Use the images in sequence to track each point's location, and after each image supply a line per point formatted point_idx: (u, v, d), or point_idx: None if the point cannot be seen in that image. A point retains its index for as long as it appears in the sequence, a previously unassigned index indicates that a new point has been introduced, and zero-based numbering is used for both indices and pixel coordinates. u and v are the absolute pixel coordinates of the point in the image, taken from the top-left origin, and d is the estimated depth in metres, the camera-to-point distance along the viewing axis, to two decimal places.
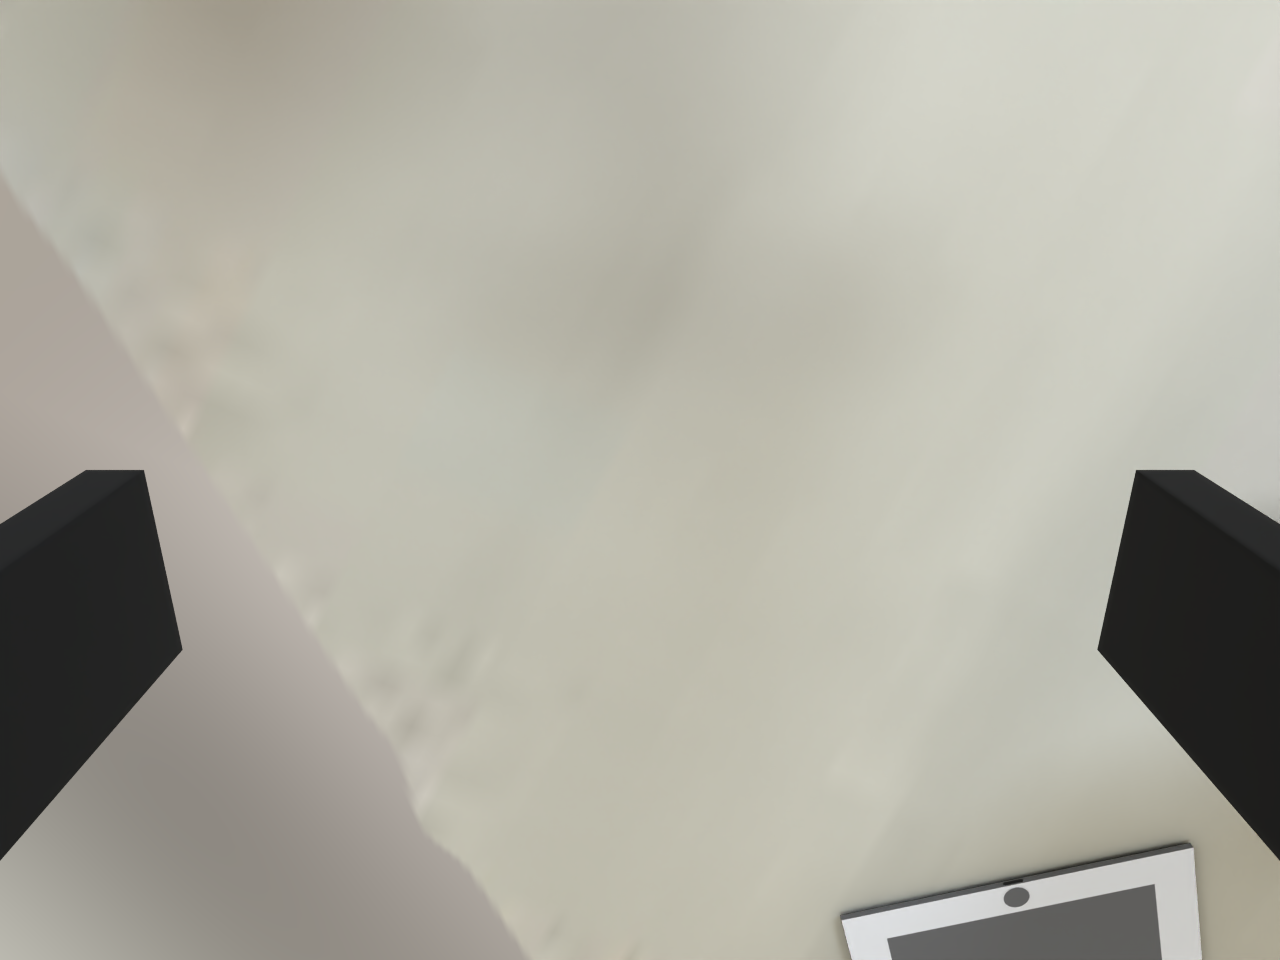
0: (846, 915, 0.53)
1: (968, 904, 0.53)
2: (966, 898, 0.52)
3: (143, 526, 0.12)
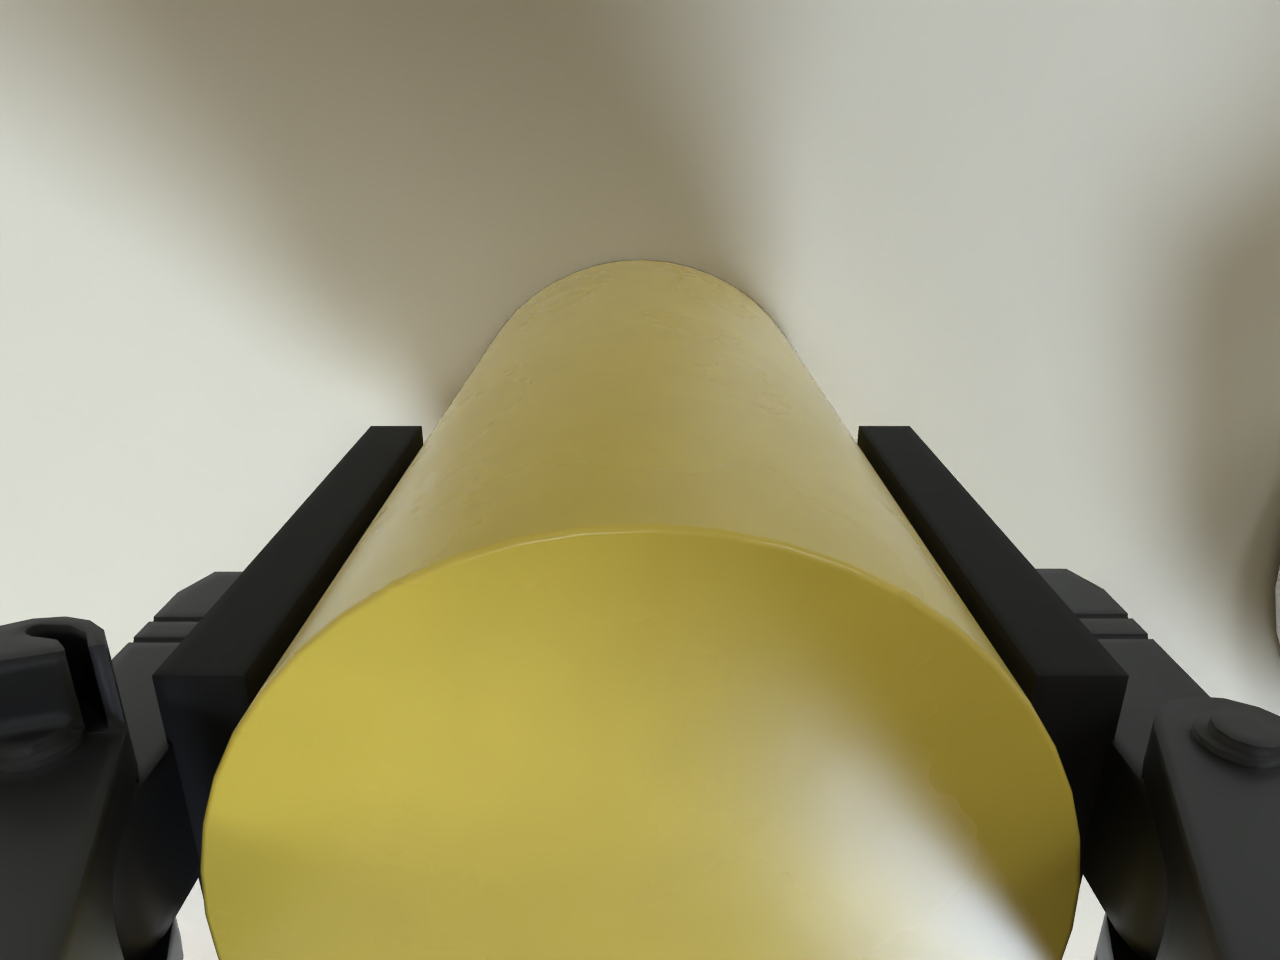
0: None
1: None
2: None
3: None
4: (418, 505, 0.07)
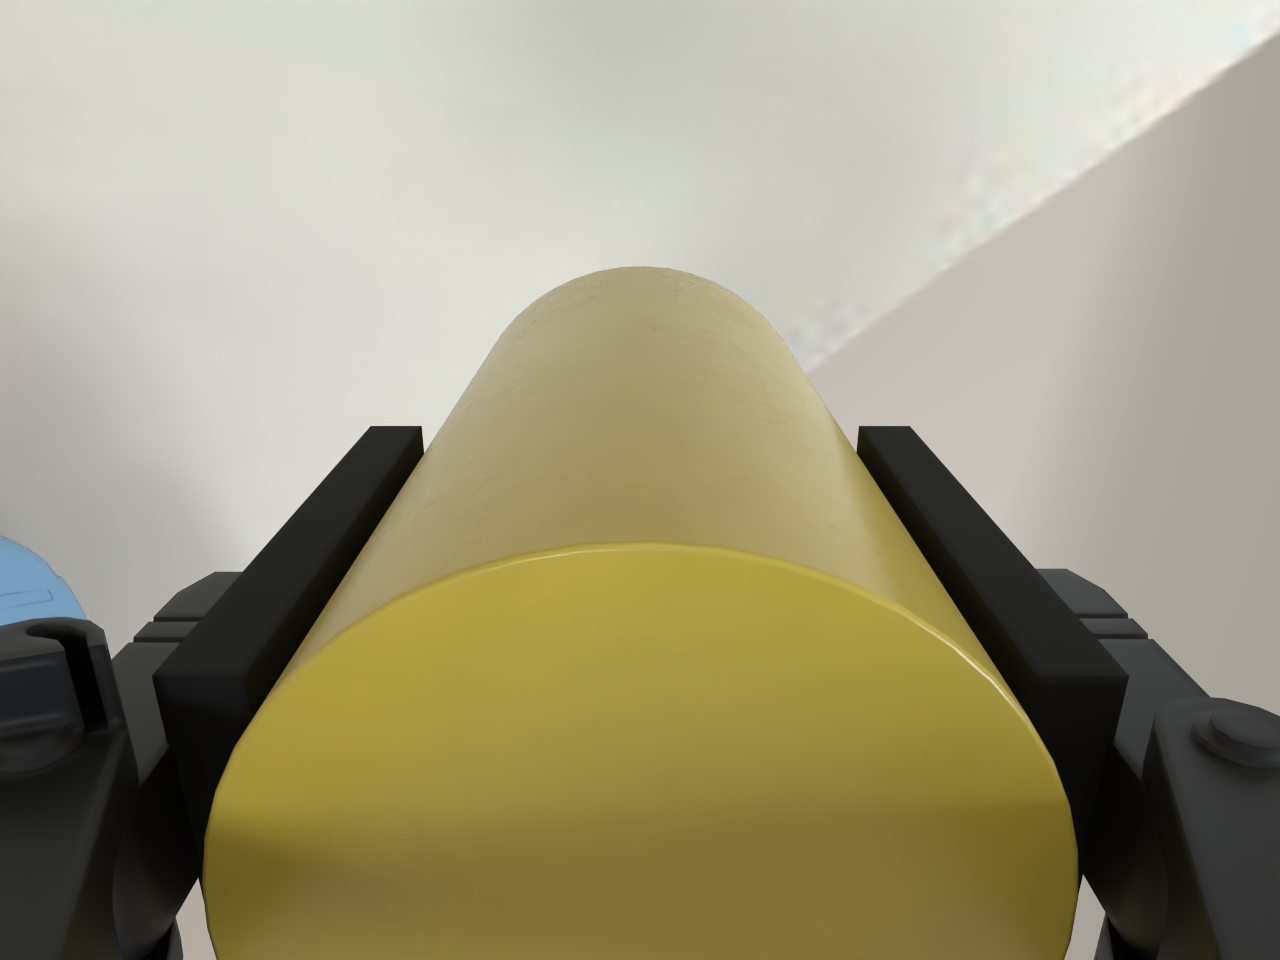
0: None
1: None
2: None
3: None
4: (419, 518, 0.07)
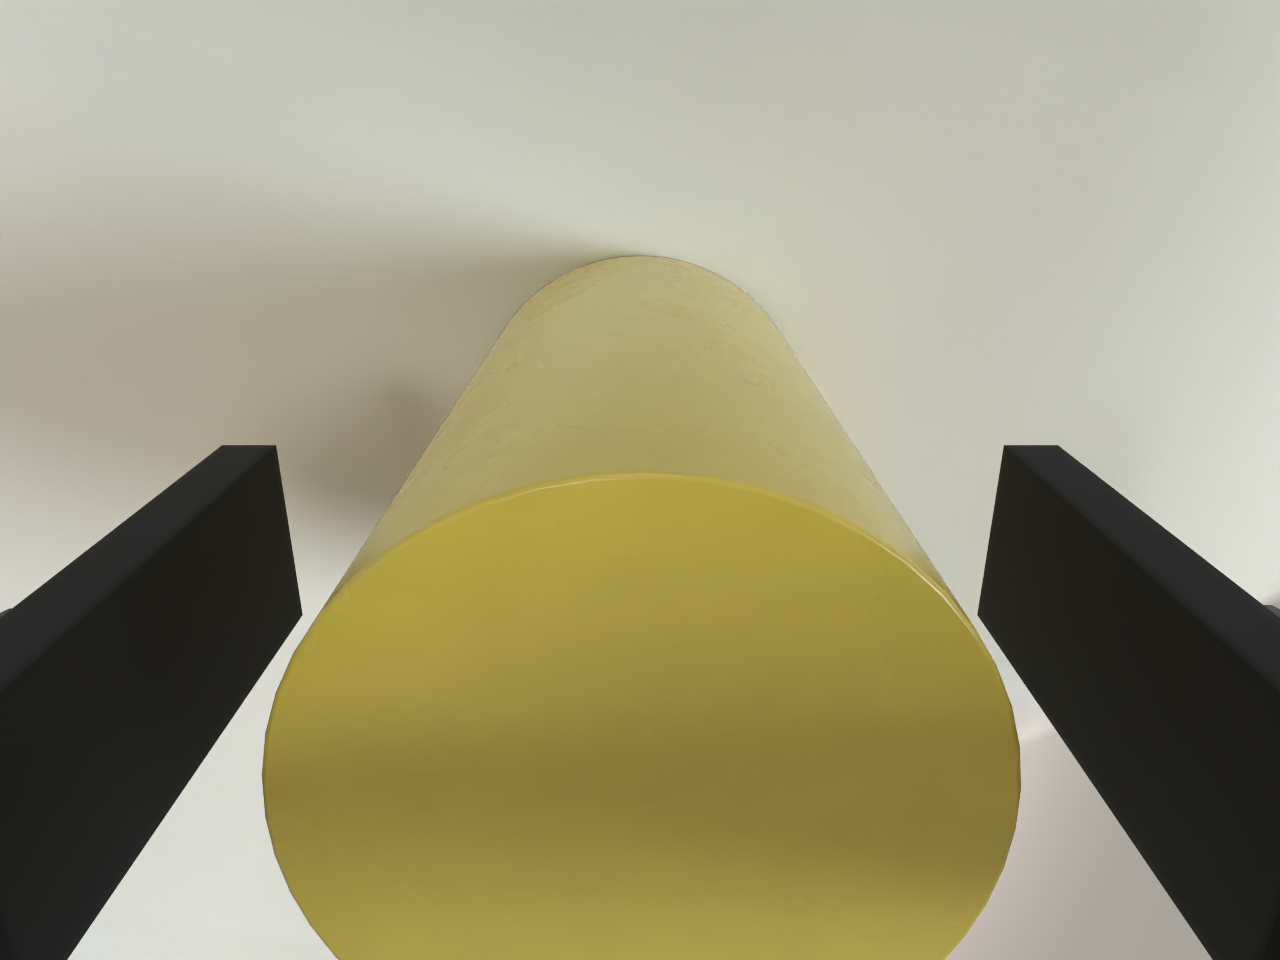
0: None
1: None
2: None
3: (276, 497, 0.13)
4: (447, 464, 0.08)
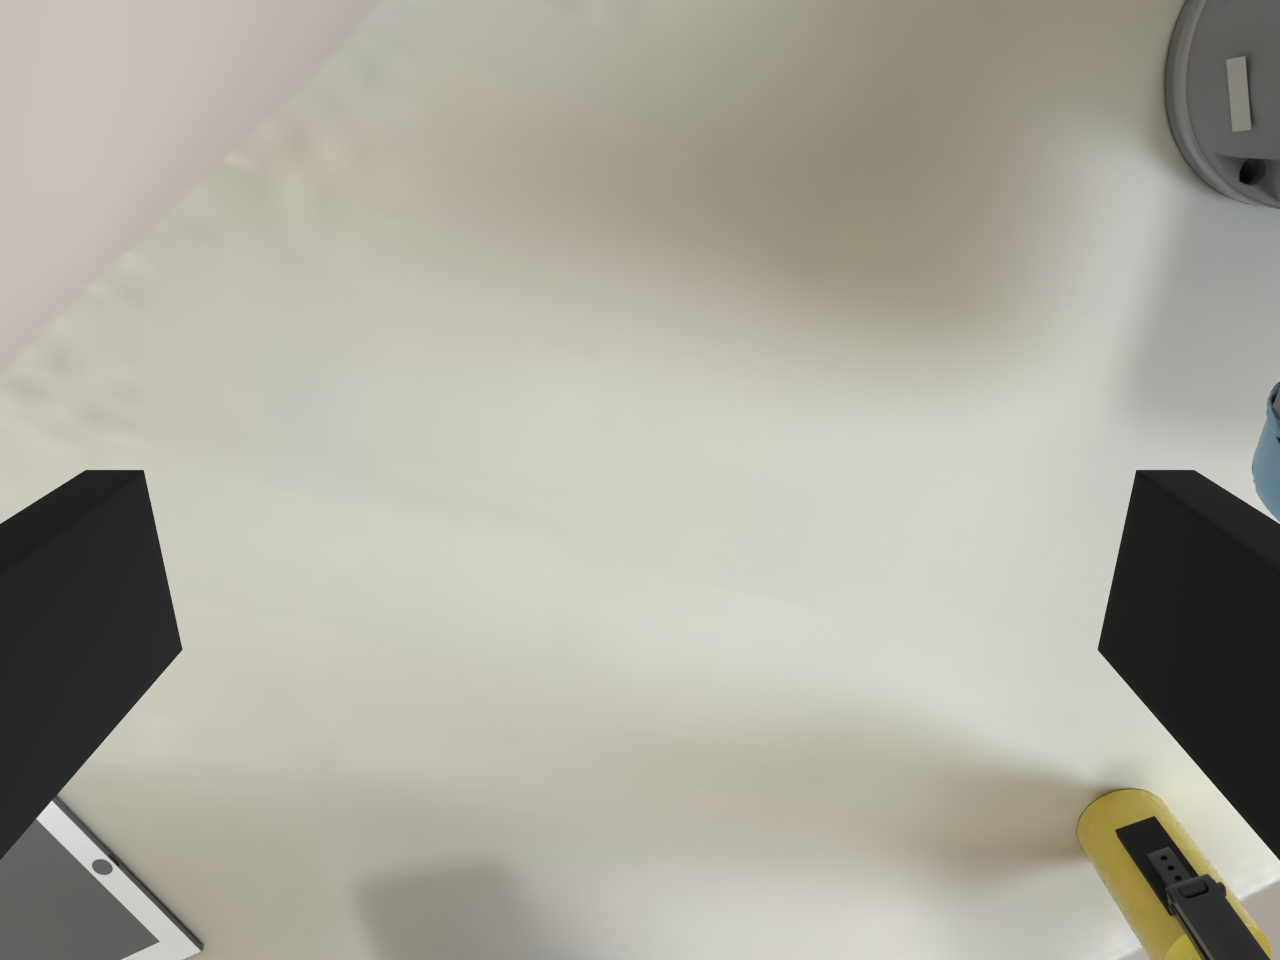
0: None
1: (79, 840, 0.65)
2: (83, 837, 0.65)
3: (143, 527, 0.12)
4: None
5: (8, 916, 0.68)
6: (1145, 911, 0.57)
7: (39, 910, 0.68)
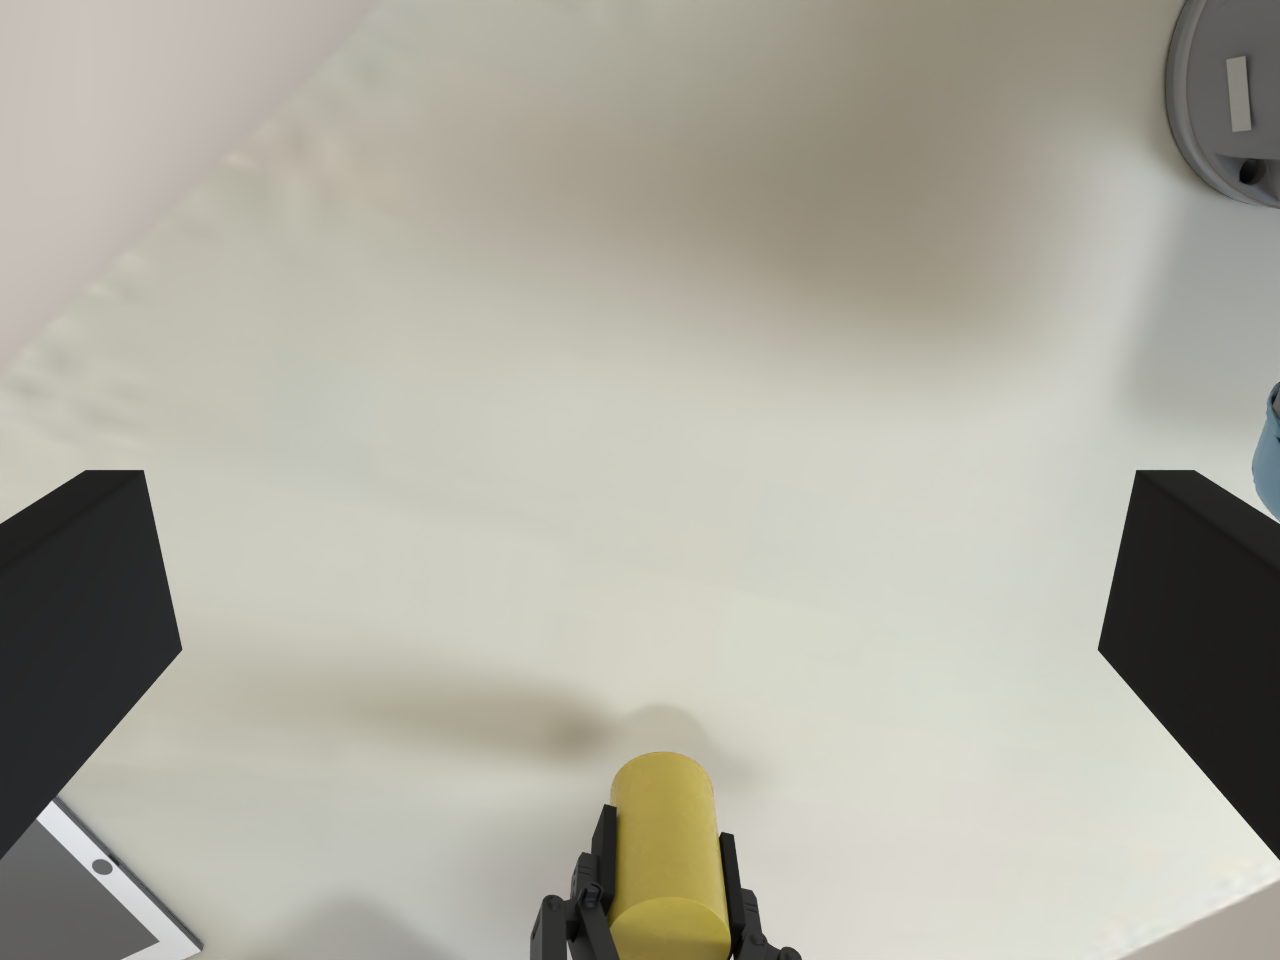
0: None
1: (79, 840, 0.65)
2: (83, 837, 0.65)
3: (143, 527, 0.12)
4: None
5: (8, 916, 0.68)
6: None
7: (39, 910, 0.68)
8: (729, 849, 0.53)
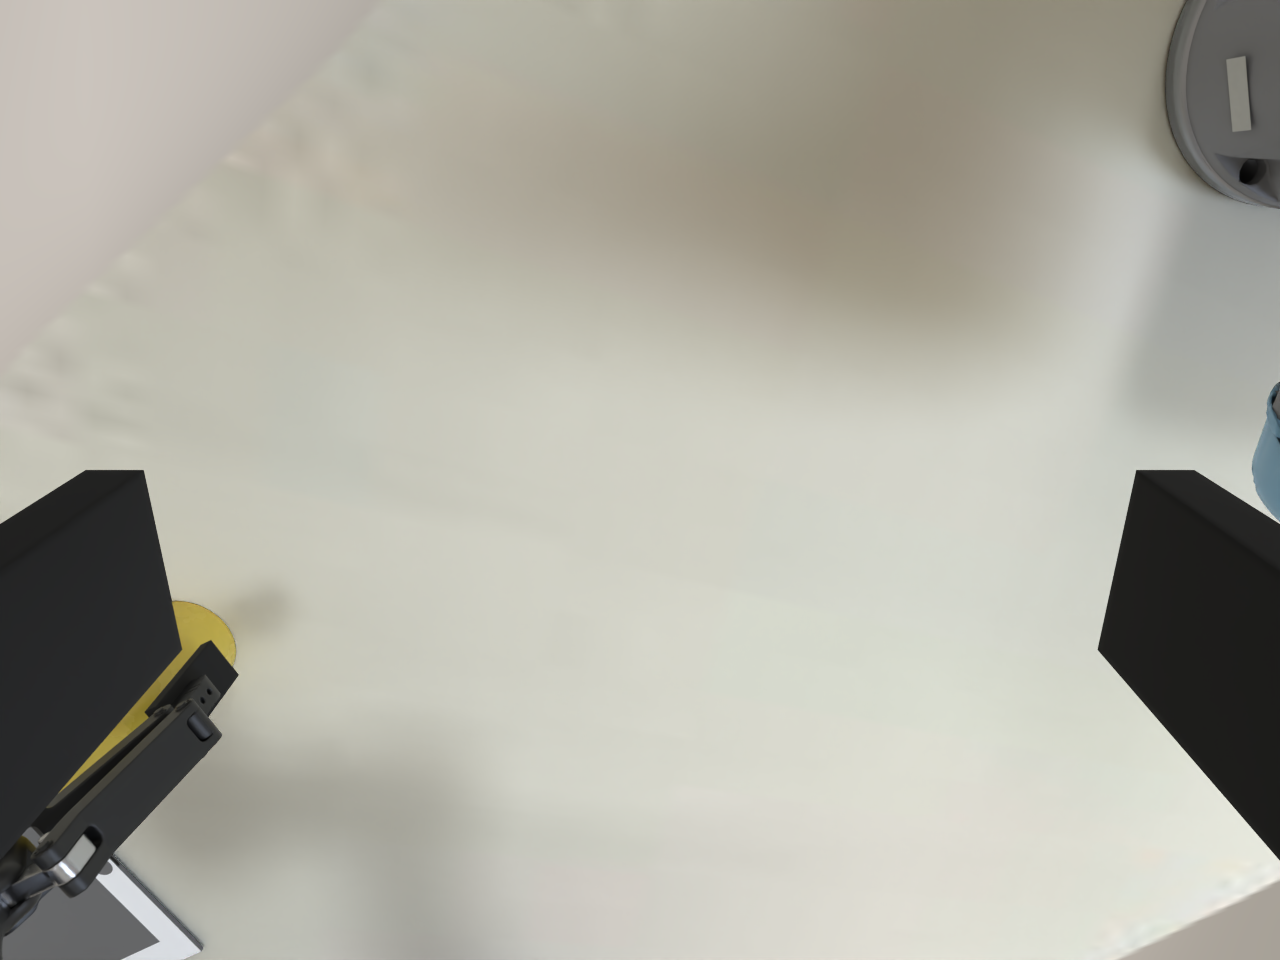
0: None
1: None
2: None
3: (143, 527, 0.12)
4: None
5: None
6: None
7: (39, 910, 0.68)
8: (195, 654, 0.52)
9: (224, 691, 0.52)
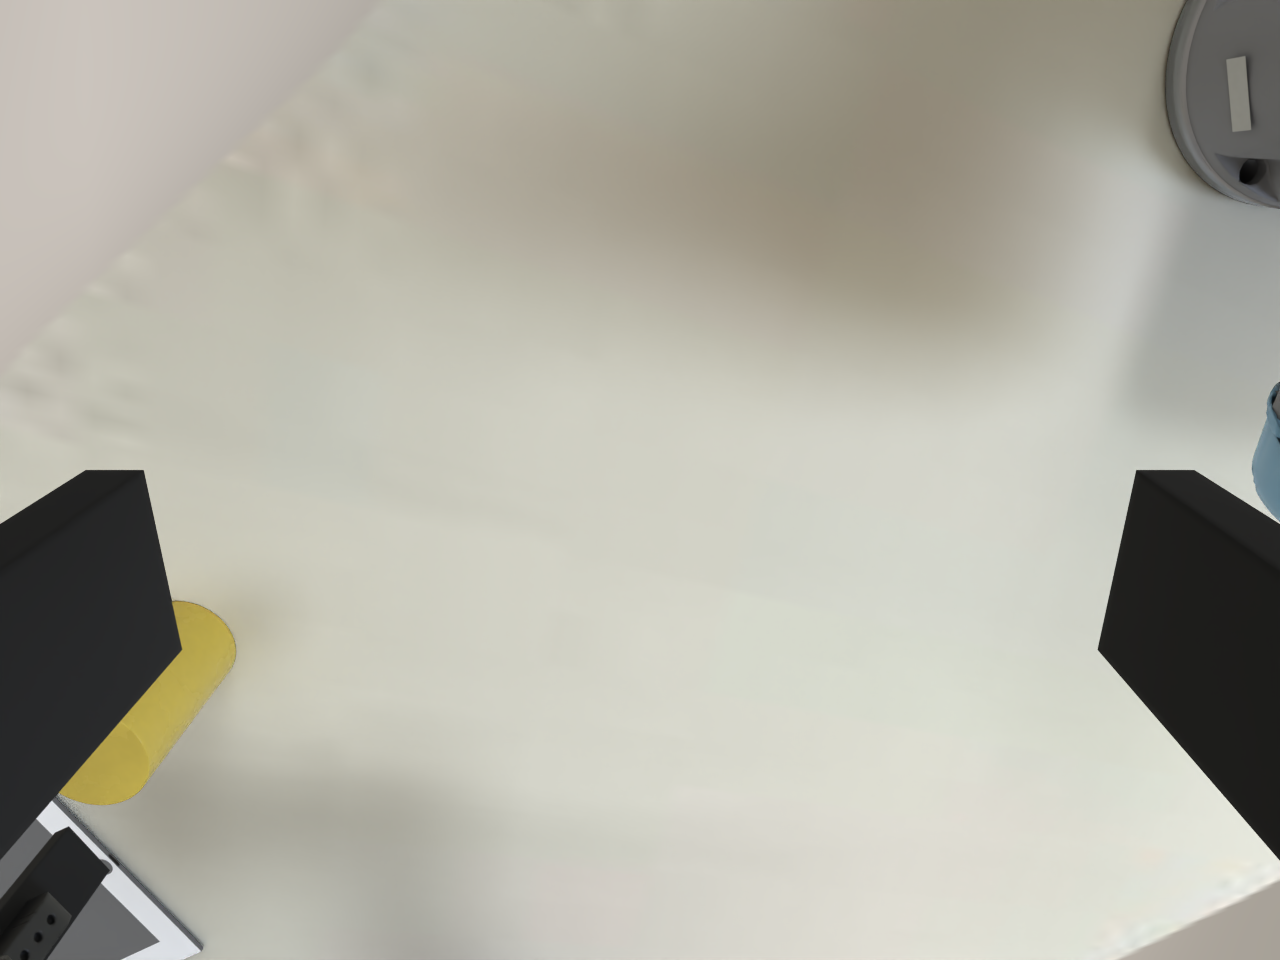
0: None
1: None
2: (83, 837, 0.65)
3: (143, 527, 0.12)
4: None
5: None
6: None
7: None
8: (42, 852, 0.37)
9: (84, 902, 0.38)
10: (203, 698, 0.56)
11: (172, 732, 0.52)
